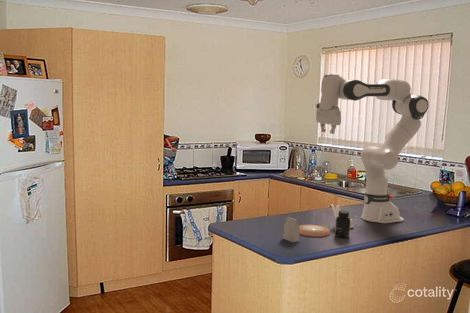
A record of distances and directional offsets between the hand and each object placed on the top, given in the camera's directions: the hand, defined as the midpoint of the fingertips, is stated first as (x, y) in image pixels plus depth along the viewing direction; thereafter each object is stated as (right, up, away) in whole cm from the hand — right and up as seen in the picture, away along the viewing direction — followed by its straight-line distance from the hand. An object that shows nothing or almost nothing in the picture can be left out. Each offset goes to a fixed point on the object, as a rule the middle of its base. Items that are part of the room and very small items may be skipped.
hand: (327, 132), depth 254 cm
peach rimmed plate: (-10, -49, -14) cm, 51 cm away
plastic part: (+7, -48, -2) cm, 48 cm away
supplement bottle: (+3, -50, -19) cm, 54 cm away
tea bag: (-22, -50, -27) cm, 61 cm away
